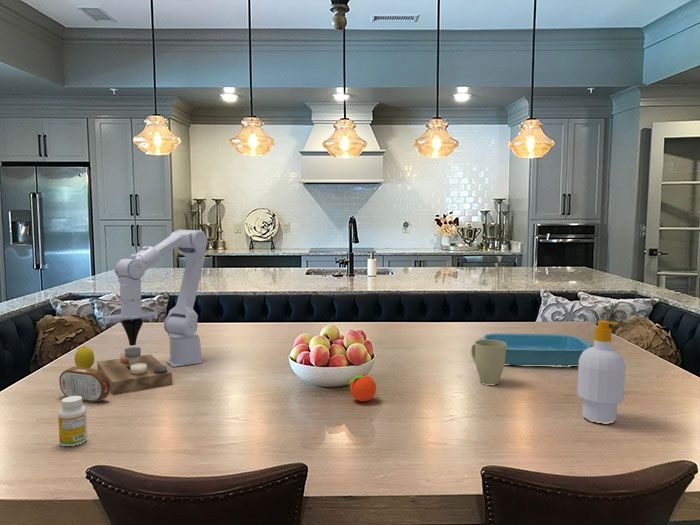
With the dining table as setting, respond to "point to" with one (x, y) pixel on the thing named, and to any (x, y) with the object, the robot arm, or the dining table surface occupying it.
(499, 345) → the mug
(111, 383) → the board
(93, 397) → the tin
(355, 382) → the clementine
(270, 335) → the dining table surface
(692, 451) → the dining table surface
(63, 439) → the supplement bottle
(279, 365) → the dining table surface
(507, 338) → the casserole dish
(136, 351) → the knob slate
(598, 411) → the soap bottle
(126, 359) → the peach pink ball
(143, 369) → the knob cream
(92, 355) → the lemon
